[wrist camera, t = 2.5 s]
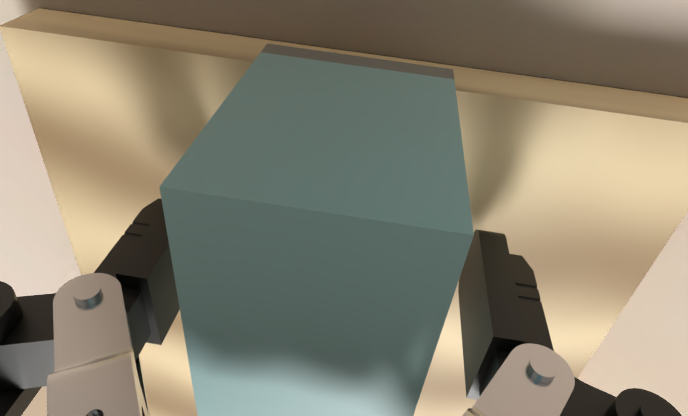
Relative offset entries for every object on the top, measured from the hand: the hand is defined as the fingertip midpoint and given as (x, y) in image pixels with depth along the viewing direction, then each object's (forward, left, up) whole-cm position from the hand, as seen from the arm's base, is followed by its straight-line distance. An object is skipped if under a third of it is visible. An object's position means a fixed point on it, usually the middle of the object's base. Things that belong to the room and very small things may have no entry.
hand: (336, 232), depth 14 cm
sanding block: (0, 0, -1) cm, 1 cm away
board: (+7, 0, -3) cm, 7 cm away
